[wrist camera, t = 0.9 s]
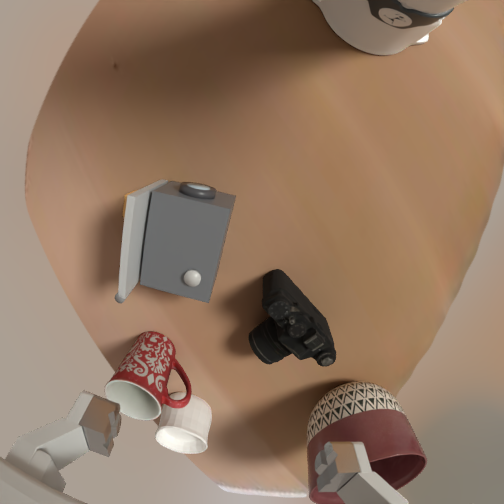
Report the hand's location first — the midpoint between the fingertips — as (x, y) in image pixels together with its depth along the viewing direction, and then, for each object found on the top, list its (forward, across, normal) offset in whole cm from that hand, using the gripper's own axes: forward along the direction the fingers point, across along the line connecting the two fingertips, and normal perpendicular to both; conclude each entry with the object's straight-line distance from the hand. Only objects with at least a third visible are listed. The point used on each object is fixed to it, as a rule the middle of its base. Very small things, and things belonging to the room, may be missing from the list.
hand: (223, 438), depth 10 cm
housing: (+33, +7, +3) cm, 34 cm away
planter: (+34, -28, +29) cm, 53 cm away
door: (+33, +12, +3) cm, 36 cm away
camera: (+34, -9, +13) cm, 37 cm away
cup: (+34, +3, +40) cm, 53 cm away
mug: (+34, +8, +26) cm, 44 cm away
